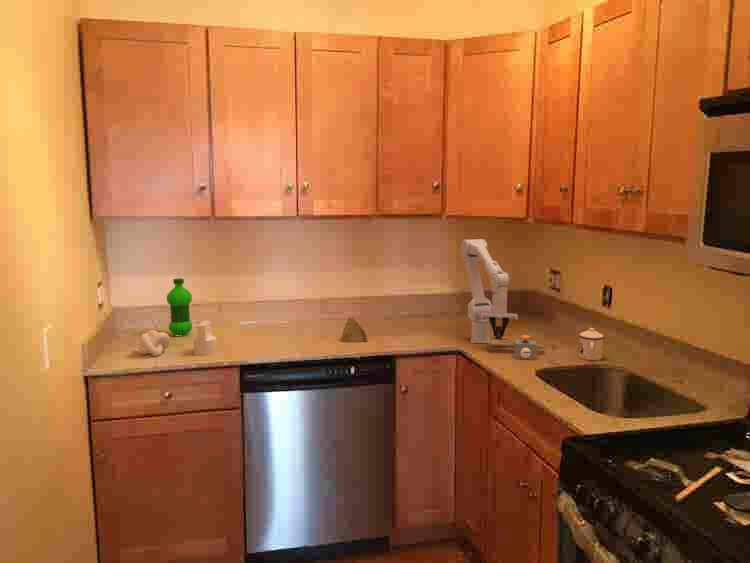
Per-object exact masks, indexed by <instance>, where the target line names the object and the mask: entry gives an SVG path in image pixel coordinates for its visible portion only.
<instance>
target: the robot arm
mask: <svg viewBox="0 0 750 563" xmlns="http://www.w3.org/2000/svg"><path fill="white" fill-rule="evenodd" d="M460 251H461V256H462V259H463V261H465V266H466V272H467V276H468V281H469V286H470V292H471V297H472V299H471V300H470V302H469V303H468V304H467V316H468V318H469V320H470V321H471V336H470V343H471V344H472V343H473V344H475V343H476V344H488V343H489V342H491V338H490V325H491V328H492V332H493V337H495V336H496V326H497V320H496V319H499V320H501V319H502V320H501V324H502V325H501V326H502V337H504V334H505V330H506V329H507V326H508V324H509V322H510V320H515V321H516V320H517V321H518V320H519V319H518V318H519V315H518V313H508V310H507V308H508V288H509V287H510V286H511V284H512V283H511V282H512V278H511V276H510V274H509V273H508V272H505V271H503V269H502V267H501V266H500V264H498V263H499V262H497V261H496V260H493V258H492V256H491V255H490V253H489V251H488V243H487V241H486V239H484V238H479V239H478V238H477V239H475V238H474V239H463V241H462V242H461V245H460ZM479 261H481V262H482V263H483V264H484V270H485V272H486V274H487V275H488V277H489V279H490V280H489V282H490V287H491V292H492V301H491V300H490V299H488V298H487V297H486V296H485V291H484V286H483V283H482V282H483V281H482V277H481V272H480V266H479Z"/></svg>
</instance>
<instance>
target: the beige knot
mask: <svg viewBox="0 0 750 563" xmlns="http://www.w3.org/2000/svg"><path fill="white" fill-rule="evenodd" d="M170 343H171V338H170V336H169V335H168V333H166V332H162V331H161V332H158V331H157V330H155V329H150V330H147V331H146V332H144V333H142V334H141V336H140V340H139V344H138V352H139V353H140V354H141V355H143V356H146V355H149V354H150V355H151V356H154V357H159V356H161V355H162V353H163V352H164V351H165V350H166V349H167V348H168V347H169V346H170Z"/></svg>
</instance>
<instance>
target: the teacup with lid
mask: <svg viewBox="0 0 750 563" xmlns="http://www.w3.org/2000/svg"><path fill="white" fill-rule="evenodd" d="M578 337H579V344H578V357H579V358H580V359H583V360H586V361H587V360H588V361H600V360H601V359H602V358H603V347H604V338H605V336H604V334H603V333H600V332H598V331H596V330H595V328H594V327H589V329H588V330H586V331H582V332H580V333H579V334H578Z"/></svg>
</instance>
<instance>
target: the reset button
mask: <svg viewBox="0 0 750 563" xmlns="http://www.w3.org/2000/svg"><path fill="white" fill-rule="evenodd" d="M520 340H524V343H527V340H530V341H531V335H529V334H521V335H520Z"/></svg>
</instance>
